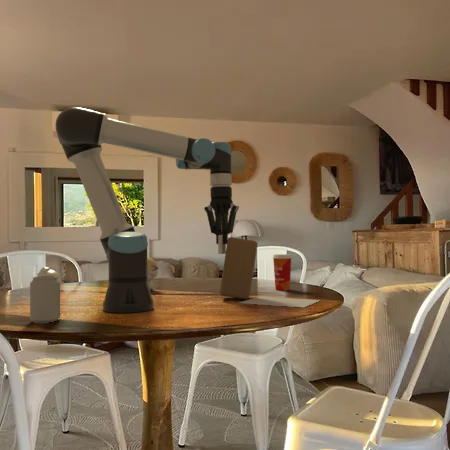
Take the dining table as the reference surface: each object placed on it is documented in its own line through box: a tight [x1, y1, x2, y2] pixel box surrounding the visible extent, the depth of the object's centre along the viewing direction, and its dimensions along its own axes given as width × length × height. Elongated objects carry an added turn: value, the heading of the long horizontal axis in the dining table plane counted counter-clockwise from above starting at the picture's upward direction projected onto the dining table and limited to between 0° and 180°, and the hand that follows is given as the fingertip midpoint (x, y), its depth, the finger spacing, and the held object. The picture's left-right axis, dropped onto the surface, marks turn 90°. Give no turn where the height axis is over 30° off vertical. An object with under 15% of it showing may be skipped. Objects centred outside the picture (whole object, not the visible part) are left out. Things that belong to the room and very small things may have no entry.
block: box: [219, 236, 258, 300], centre depth 164 cm, size 10×10×20 cm
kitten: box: [147, 256, 160, 292], centre depth 189 cm, size 15×10×15 cm
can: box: [29, 276, 61, 324], centre depth 126 cm, size 8×8×12 cm
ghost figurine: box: [36, 266, 62, 284], centre depth 189 cm, size 9×10×10 cm
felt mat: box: [239, 295, 321, 309], centre depth 155 cm, size 16×22×1 cm
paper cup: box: [272, 253, 293, 292], centre depth 188 cm, size 8×8×14 cm
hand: (222, 253), depth 167 cm, fingers closed
